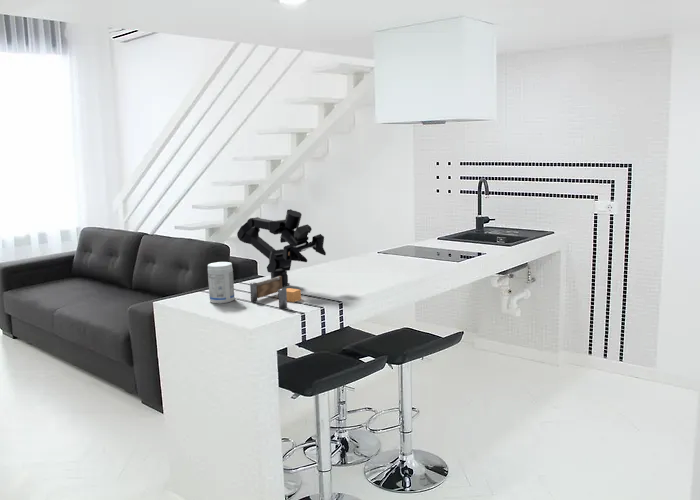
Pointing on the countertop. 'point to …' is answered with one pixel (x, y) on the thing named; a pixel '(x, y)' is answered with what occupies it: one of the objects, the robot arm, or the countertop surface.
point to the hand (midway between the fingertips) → (316, 257)
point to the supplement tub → (221, 282)
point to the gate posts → (281, 293)
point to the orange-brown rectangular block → (293, 294)
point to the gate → (269, 286)
